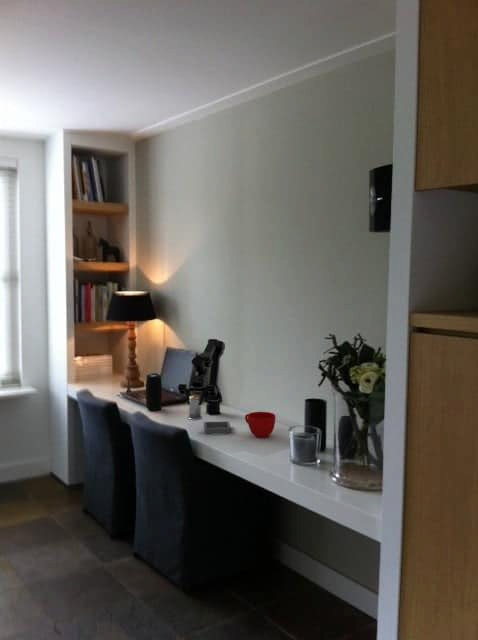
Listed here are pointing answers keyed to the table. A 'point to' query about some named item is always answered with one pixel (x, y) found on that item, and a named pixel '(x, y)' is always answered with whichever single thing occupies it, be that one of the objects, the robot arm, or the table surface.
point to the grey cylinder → (194, 407)
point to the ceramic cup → (261, 423)
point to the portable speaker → (153, 392)
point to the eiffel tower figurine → (127, 389)
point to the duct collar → (217, 424)
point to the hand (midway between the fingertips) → (194, 404)
